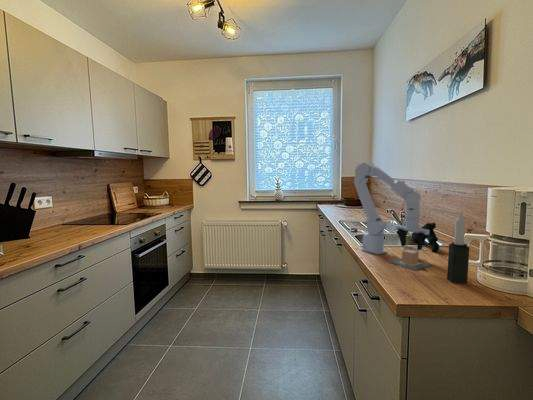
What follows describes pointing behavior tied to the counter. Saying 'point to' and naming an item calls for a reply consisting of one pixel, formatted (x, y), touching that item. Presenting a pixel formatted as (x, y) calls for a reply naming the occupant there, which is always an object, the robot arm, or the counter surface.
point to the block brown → (410, 257)
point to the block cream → (410, 248)
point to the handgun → (429, 236)
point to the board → (414, 267)
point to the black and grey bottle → (458, 254)
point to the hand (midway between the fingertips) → (411, 247)
